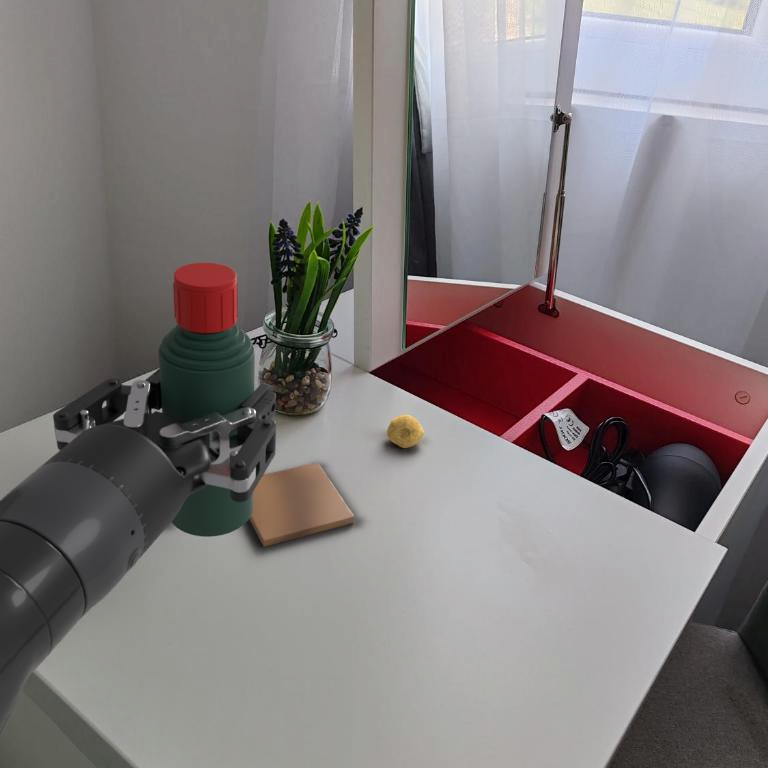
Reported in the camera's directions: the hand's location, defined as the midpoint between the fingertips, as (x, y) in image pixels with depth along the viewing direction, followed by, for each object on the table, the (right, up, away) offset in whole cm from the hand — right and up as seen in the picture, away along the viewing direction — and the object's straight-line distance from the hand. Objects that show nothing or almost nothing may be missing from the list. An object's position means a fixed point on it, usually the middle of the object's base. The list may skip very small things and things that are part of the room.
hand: (223, 383), depth 58 cm
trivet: (+3, -12, +18) cm, 22 cm away
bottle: (-2, -10, +3) cm, 10 cm away
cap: (0, +4, -5) cm, 7 cm away
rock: (+14, -6, +29) cm, 33 cm away
